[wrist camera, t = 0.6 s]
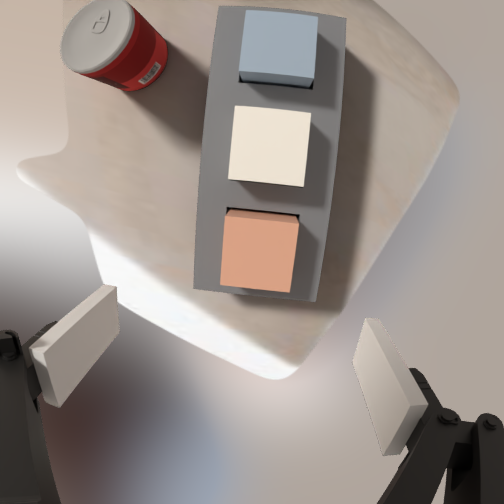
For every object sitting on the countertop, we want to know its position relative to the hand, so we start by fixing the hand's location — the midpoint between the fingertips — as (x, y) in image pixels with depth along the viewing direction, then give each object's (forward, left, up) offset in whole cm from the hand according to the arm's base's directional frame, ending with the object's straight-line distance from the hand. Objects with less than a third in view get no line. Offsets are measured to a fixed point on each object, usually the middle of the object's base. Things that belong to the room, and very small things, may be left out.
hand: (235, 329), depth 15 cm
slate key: (-18, +1, -17) cm, 25 cm away
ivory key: (-9, +1, -17) cm, 19 cm away
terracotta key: (0, +1, -17) cm, 17 cm away
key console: (-9, +1, -21) cm, 23 cm away
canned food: (-19, -15, -21) cm, 32 cm away
